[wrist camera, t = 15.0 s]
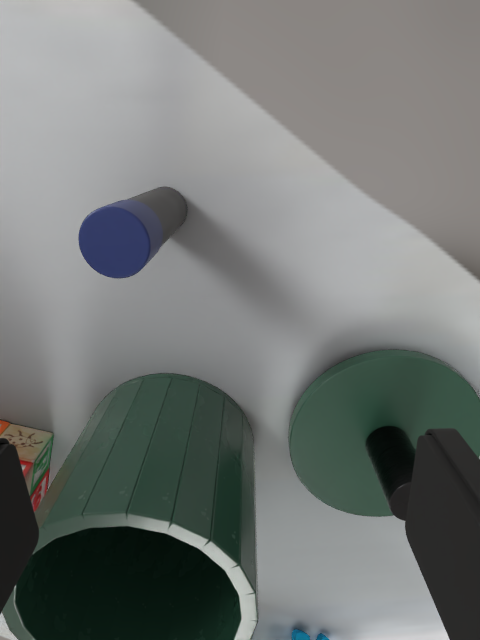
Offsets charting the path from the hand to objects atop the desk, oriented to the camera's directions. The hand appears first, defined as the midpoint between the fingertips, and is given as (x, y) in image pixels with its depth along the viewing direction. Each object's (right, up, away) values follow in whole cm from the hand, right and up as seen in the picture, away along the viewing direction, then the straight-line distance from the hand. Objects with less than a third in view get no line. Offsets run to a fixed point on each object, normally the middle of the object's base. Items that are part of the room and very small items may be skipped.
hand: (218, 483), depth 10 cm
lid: (+10, -4, +19) cm, 21 cm away
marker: (-4, +10, +14) cm, 18 cm away
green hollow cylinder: (-4, -5, +20) cm, 21 cm away
